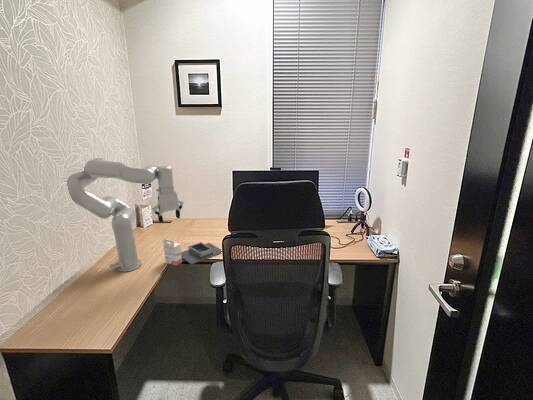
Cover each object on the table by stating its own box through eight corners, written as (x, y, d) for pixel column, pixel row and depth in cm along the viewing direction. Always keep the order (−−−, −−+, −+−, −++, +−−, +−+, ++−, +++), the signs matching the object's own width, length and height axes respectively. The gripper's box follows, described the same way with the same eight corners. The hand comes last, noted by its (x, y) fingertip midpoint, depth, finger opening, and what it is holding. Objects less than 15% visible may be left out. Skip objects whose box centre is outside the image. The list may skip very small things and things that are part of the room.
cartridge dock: (191, 264, 169) (190, 258, 168) (177, 255, 180) (177, 248, 179) (223, 252, 183) (223, 246, 182) (209, 244, 194) (208, 238, 193)
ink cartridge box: (182, 262, 171) (180, 238, 167) (176, 266, 167) (173, 242, 163) (171, 259, 175) (169, 235, 171) (165, 262, 171) (162, 239, 167)
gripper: (153, 194, 150) (157, 225, 155) (184, 187, 162) (187, 217, 167) (147, 191, 156) (151, 222, 161) (178, 185, 167) (181, 214, 172)
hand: (169, 219), depth 164 cm, fingers open, 9 cm apart
